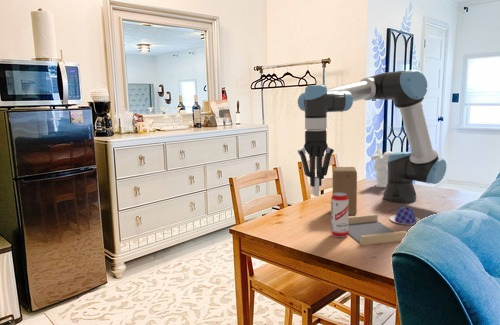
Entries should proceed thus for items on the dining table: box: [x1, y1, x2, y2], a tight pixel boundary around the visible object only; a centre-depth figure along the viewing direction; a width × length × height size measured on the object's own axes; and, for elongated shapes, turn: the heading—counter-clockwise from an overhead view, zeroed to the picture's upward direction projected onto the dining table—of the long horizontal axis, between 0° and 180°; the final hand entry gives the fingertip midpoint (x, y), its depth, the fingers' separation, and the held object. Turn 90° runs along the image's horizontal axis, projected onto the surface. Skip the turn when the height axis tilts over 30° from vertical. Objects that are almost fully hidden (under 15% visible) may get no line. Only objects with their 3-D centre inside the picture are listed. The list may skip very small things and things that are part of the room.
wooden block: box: [332, 166, 358, 217], centre depth 163 cm, size 10×10×20 cm
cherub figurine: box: [370, 146, 394, 189], centre depth 207 cm, size 12×12×22 cm
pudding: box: [389, 206, 422, 226], centre depth 151 cm, size 12×12×5 cm
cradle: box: [348, 213, 408, 246], centre depth 140 cm, size 17×22×3 cm
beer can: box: [330, 192, 349, 239], centre depth 137 cm, size 6×6×16 cm
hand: (315, 194), depth 134 cm, fingers closed
